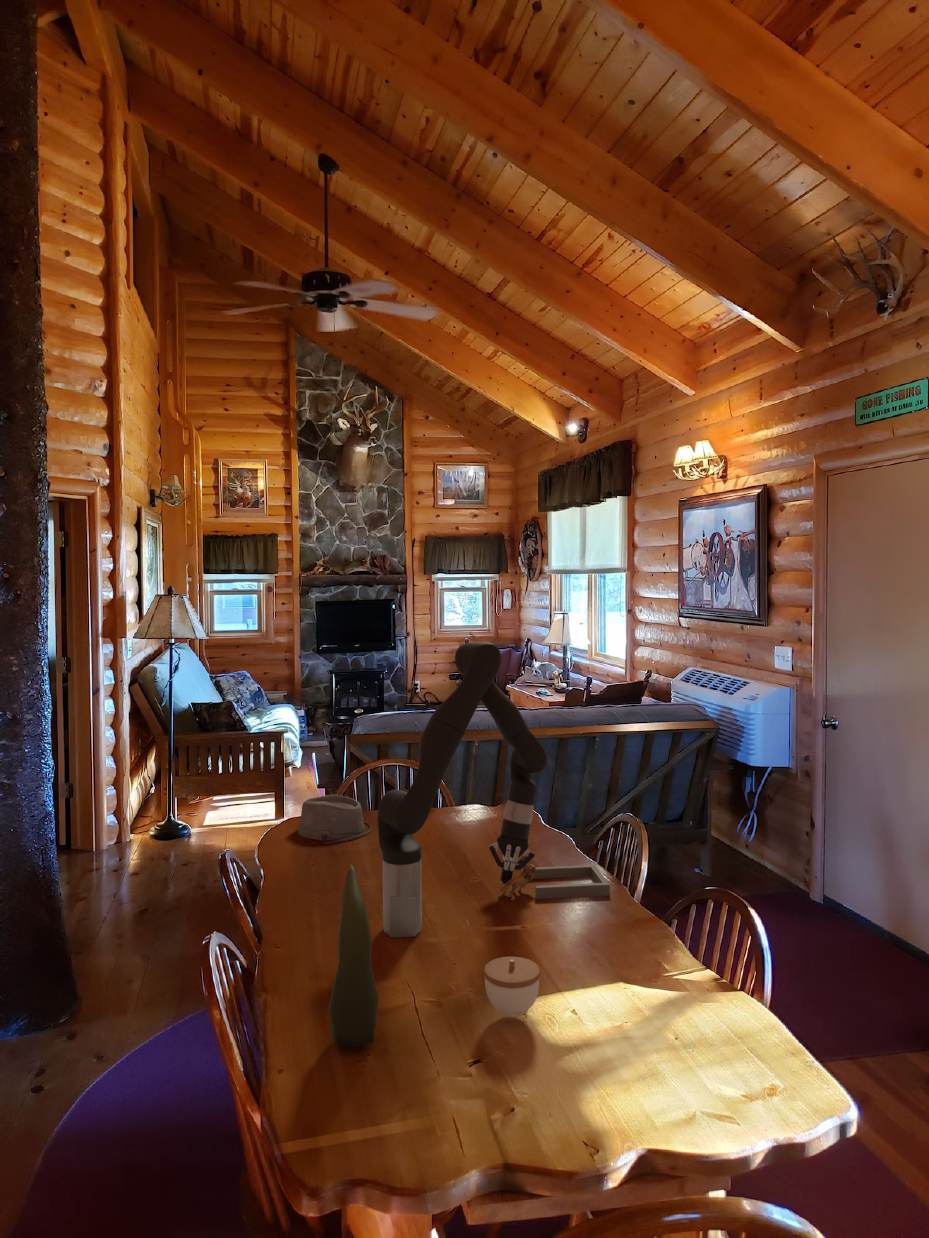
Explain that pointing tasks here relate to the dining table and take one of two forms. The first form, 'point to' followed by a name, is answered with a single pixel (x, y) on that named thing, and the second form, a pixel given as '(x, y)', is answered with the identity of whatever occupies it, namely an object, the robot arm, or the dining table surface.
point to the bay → (571, 890)
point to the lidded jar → (512, 984)
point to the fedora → (332, 819)
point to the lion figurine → (520, 880)
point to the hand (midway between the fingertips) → (505, 883)
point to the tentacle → (353, 972)
